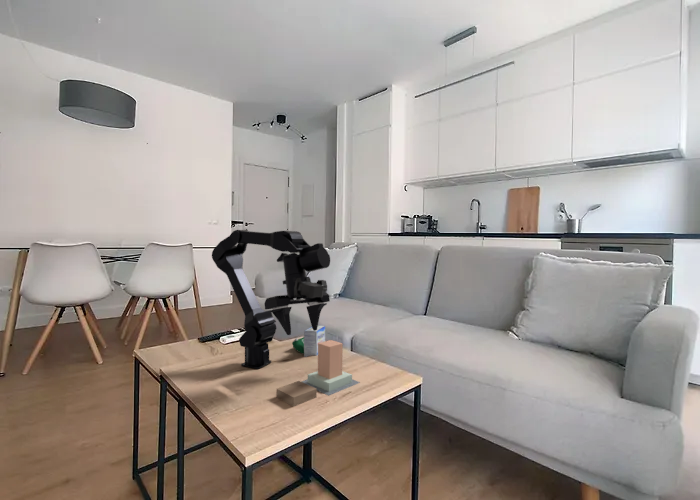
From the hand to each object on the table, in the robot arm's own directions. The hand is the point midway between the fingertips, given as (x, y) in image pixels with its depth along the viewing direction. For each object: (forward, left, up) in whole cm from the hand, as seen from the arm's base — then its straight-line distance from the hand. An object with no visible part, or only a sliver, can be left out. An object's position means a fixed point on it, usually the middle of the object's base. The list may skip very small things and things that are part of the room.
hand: (302, 332), depth 96 cm
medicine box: (-7, +19, -13) cm, 24 cm away
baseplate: (+9, -1, -12) cm, 15 cm away
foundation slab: (+9, -1, -11) cm, 15 cm away
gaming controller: (-13, +23, -13) cm, 29 cm away
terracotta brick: (+9, -1, -9) cm, 13 cm away
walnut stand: (+6, -12, -12) cm, 19 cm away
